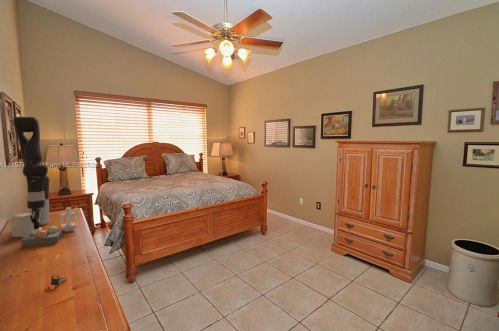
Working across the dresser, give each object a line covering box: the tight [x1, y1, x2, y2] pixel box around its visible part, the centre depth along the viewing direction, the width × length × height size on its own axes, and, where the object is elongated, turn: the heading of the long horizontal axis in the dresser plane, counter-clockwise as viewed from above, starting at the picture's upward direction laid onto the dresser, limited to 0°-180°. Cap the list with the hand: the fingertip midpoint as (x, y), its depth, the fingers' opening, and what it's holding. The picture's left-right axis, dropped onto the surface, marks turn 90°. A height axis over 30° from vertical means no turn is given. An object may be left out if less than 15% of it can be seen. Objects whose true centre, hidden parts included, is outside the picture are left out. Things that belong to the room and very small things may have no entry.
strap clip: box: [50, 274, 68, 286], centre depth 96 cm, size 8×3×4 cm, turn 179°
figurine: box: [58, 206, 79, 233], centre depth 154 cm, size 7×9×15 cm
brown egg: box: [37, 229, 48, 238], centre depth 134 cm, size 4×4×6 cm
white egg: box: [32, 227, 43, 235], centre depth 137 cm, size 4×4×6 cm
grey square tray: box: [21, 228, 63, 248], centre depth 137 cm, size 14×15×4 cm
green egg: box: [47, 225, 58, 233], centre depth 141 cm, size 4×4×6 cm
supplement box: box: [11, 212, 34, 238], centre depth 143 cm, size 7×7×13 cm
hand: (36, 228), depth 137 cm, fingers closed
